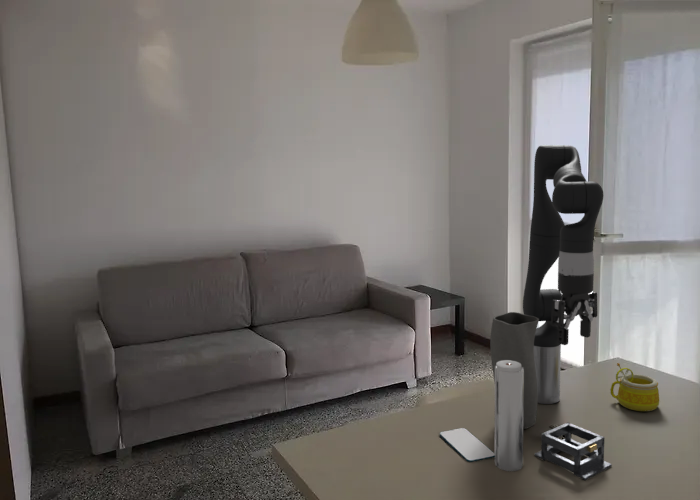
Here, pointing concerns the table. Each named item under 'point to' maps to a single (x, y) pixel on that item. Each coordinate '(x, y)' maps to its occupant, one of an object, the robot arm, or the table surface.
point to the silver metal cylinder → (509, 415)
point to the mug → (636, 391)
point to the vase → (517, 354)
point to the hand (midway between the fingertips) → (574, 340)
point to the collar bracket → (574, 450)
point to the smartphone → (467, 445)
